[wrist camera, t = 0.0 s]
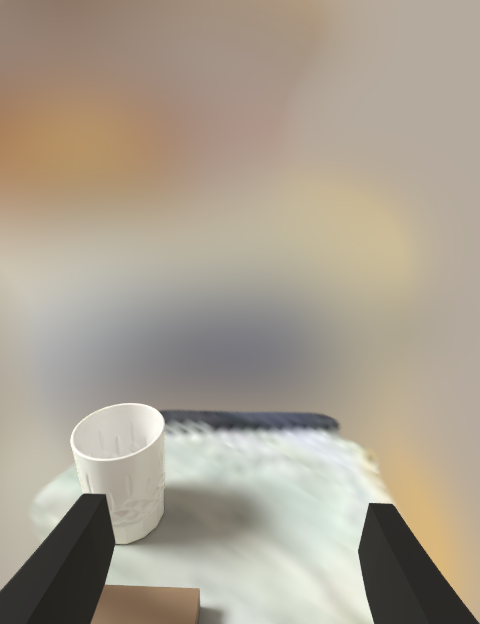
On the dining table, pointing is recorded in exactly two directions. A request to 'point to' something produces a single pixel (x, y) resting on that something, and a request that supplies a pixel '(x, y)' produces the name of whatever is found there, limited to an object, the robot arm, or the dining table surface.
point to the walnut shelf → (147, 605)
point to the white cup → (124, 465)
